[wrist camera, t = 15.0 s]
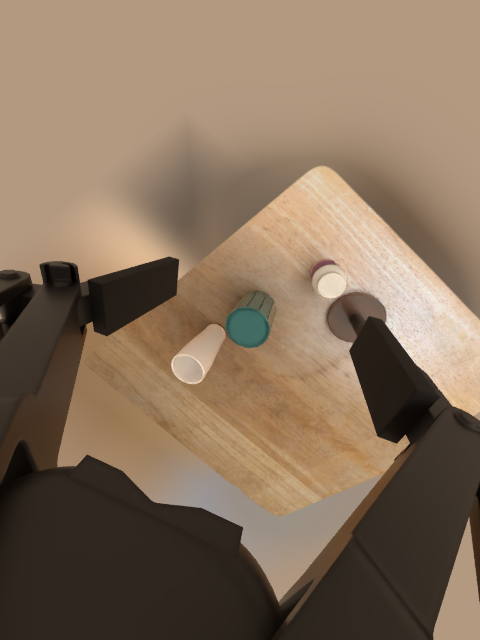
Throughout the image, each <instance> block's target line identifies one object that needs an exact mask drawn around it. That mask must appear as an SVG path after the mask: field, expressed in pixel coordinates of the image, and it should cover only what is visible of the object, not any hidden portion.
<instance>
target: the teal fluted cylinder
mask: <svg viewBox="0 0 480 640" xmlns="http://www.w3.org/2000/svg"><path fill="white" fill-rule="evenodd" d="M275 312H276V307H275V303H274V301H273V299H272V298H271V297H270V296H269V295H268V294H266V293H264V292H261V291H252V292H248V293H247V294H246V295H244V296H243V297H242V298H241V300H240V301H239V302H238V303H237V305H236V306H235V307H234V309H233V310H232V311H231V312H230V314H229V315H228V316H227V320H226V325H225V326H226V330H227V333H228V336H229V337H230V338H231V339H232V340H233V341H234V342H235V343H236V344H237V345H240V346H243V347H245V348H247V347H248V348H253V347H258V346H260V345H262V344H263V343H264V342H265V341H267V339H268V336H269V333H270V330H271V326H272V323H273V319H274V316H275Z"/></svg>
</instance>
